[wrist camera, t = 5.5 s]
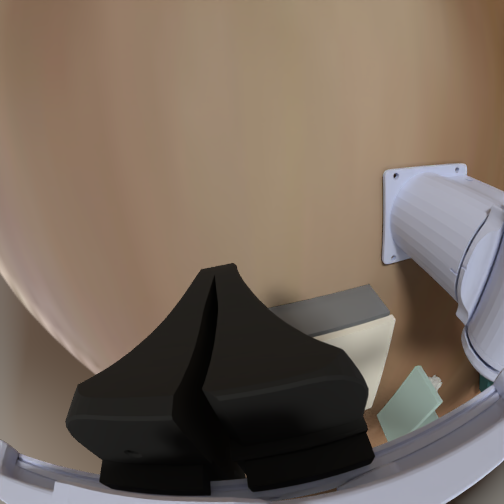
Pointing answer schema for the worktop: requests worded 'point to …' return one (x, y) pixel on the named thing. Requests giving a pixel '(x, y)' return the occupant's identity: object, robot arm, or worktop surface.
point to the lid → (365, 349)
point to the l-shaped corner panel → (411, 405)
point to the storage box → (333, 311)
